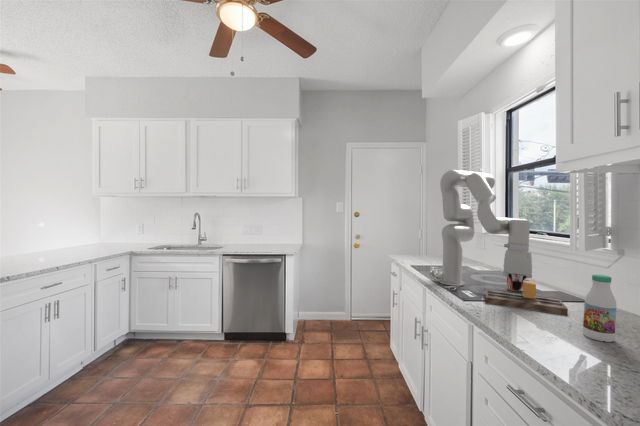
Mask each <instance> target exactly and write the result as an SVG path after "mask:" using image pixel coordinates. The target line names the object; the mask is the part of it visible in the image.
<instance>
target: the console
mask: <svg viewBox="0 0 640 426" xmlns="http://www.w3.org/2000/svg"><path fill="white" fill-rule="evenodd" d="M484 296H485V298H486V300H485V304H490V305H496V306H504V307H510V308H515V309H523V310H530V311H536V312H543V313H550V314H557V315H561V316H562V315H563V316H568V313H569V312H568V311H569V309H568V308H567V306H566V305H565V304H564V303H563V301H562V300H561V299H558V298H553V297H552V298H550V297H545V296H544V297H543V296H536V295H535V299H528V298H523V293H522V294H521V293H515V292H514V293H513V292H506V291H499V290H490V289H485V295H484Z"/></svg>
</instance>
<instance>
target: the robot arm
mask: <svg viewBox="0 0 640 426" xmlns="http://www.w3.org/2000/svg"><path fill="white" fill-rule="evenodd" d="M495 184H496V180H495V178H494V176H493V175H492V174H490V173H487V172H477V171H471V170H469V171H468V170H460V169H450V170H448V171H445V173H444V174H442V175H441V179H440V182H439V186H440V188H439V189H440V192H441V193H440V194H441V198H442V200H441V201H442V212H443V213H442V214H443V217H444V220H445V221H447V222H453V223H451V224H450V223H449V224H447V225H445V226H443V227H442V230H441V238H442V271H441V273H433V278H435V279H438V282H439V283H440V284H442V285H445V286H452V287H462V286H464V285H465V283H466V282H465V281H463V280H462V279H463V277H462V273H463V270H462V269H463V247H462V244H461V242H462V243H463V242H464V243H465V242H466V243H467V242H470V241H472V240H473V238H474V237H475V223H474V222H475V221H474V220H475V219H474V213H473V210H472V208H471V206H469V205H467V204H465V203H464V204H463V203H461V201H460V194H459V192H458V189H457V188H456V187H460V188H468V189H469V192H470V193H471V195H472V198H473V199H474V200H475V201H476V203H477V208H476V215H477V218H478V221H479V223H480V224H481V226H482V228H483V229H484V230H485V232H487V234H490V235H507V237H508V240H507V243H504V244H503V247H504V248H507V249H505V253H504V257H503V259H504V260H503V271H502V276H506V277H507V276H509V277H510V278H511V279H512V280H513V284H512V288H514V290H515V291H516V290H517V291H519V289H521V282H522V281H523V280H524V281H525V280H526V279H532V278H533V275H532V273H533V259H532V258H533V257H532V252H531V251H530V250H529V249H530V248H529V246H530V229H531V228H530V227H531V226H530V225H531V223H530V220H528V219H525V218H512V217H501V216H500V217H499V216H498V217H496V216H495V214H494V213H493V211H492V208H491V204H492V203H493V202H495V201H496V199H497V196H496V194H495V192H494V190H493V188H494V187H495ZM454 222H457V223H454ZM515 274H516V275H519V278H518V279H517V281H516V279H515ZM515 291H514V292H515Z"/></svg>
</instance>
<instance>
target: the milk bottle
mask: <svg viewBox="0 0 640 426" xmlns="http://www.w3.org/2000/svg"><path fill="white" fill-rule="evenodd" d="M591 282H592V285H591V287H590V289H589V290H588V292H587V294H586V296H585V299H584V304H583V305H584V306H583V307H584V308H583V319H582V320H583V322H582V325H583V326H582V327H583V328H582V333H583V336H585V337H586V338H590V339H592V340H595V341H598V342H603V341H605V343H613V342H615V340H616V331H617V330H616V327H617V300H616V298H615V296H614V293H613V291H612V289H611V284H612V277H611V276H609V275H604V274H592V275H591ZM612 341H613V342H612Z"/></svg>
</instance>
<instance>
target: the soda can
mask: <svg viewBox="0 0 640 426" xmlns="http://www.w3.org/2000/svg"><path fill="white" fill-rule="evenodd" d="M518 278H519V275H516V274H515V279H516V281H517V279H518ZM523 281H525V279H524V280H523ZM523 281H522V282H521V289H519V291H517V290H516V291H515V290H514V288H512V284H513V280H512V279H511V278H510V277H509V276H506V288H507V289H508V290H509V291H511V292H514V293H515V292H519V293H520V292H523Z"/></svg>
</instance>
